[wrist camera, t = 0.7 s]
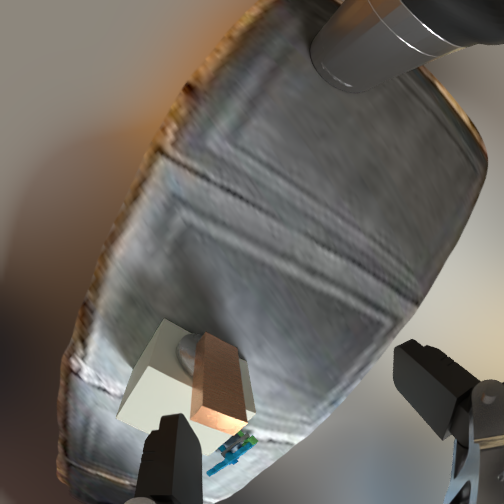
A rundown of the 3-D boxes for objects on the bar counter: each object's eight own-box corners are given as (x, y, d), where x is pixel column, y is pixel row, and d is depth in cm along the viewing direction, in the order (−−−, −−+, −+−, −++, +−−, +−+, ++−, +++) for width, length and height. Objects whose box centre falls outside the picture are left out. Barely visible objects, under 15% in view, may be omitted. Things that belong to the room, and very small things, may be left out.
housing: (164, 318, 32) (148, 365, 23) (246, 361, 35) (256, 413, 26) (132, 369, 33) (115, 418, 24) (208, 405, 36) (208, 456, 27)
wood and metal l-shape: (192, 311, 31) (180, 396, 18) (248, 341, 33) (266, 428, 19) (157, 364, 32) (136, 449, 19) (208, 389, 34) (209, 474, 21)
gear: (229, 468, 39) (201, 486, 31) (208, 445, 42) (177, 458, 34) (271, 435, 39) (249, 452, 31) (248, 411, 42) (221, 422, 34)
